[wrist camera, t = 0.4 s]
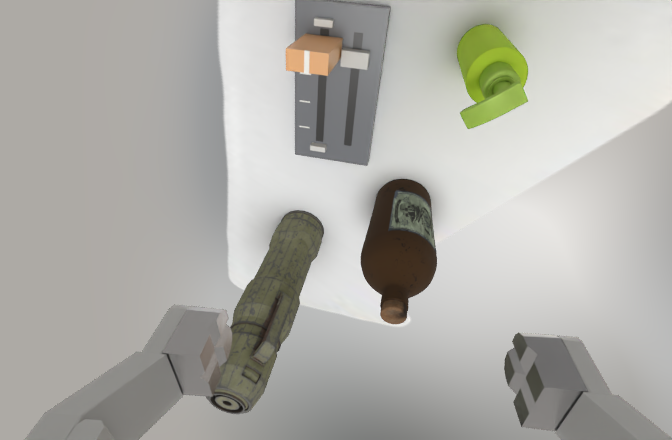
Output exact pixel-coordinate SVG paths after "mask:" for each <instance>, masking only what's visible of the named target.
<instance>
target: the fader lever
mask: <svg viewBox="0 0 672 440" xmlns="http://www.w3.org/2000/svg"><path fill="white" fill-rule="evenodd" d="M342 41H343V38H338V37H330V36H322V35H313V34H304V35H303V36H302V37H300V38H299V39H298V40H296V41H295V42H294V43H292V44H291V45H290V46H288V47H287V48H286V70H287V71H295V72H303V73H304V74H309V73H310V74H318V75H325V76H328V75H329V73H330V72H331V71H332V69H333V68H334V67H335V65H336V64H337V63H338V61H339V60H340V58H341V52H342Z"/></svg>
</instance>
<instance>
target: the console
mask: <svg viewBox="0 0 672 440" xmlns="http://www.w3.org/2000/svg"><path fill="white" fill-rule="evenodd" d="M389 14H390V7H386V6H377V5H368V4H359V3H349V2H340V1H331V0H295V41H296V40H298V39H299V38H300V37H302V36H303V35H304V34H313V35H322V36H330V37H338V38H343V41H342V52H341V58H340V60H339V61H338V63H337V64H336V65H335V67H334V68H333V69H332V71H331V72H330V73H329V75H328V76H325V75H318V74H310V73H309V74H304V73H303V72H295V154H296V155H302V156H309V157H315V158H321V159H328V160H334V161H340V162H347V163H353V164H359V165H366V166H367V165H368V161H369V156H370V148H371V141H372V134H373V127H374V120H375V113H376V106H377V99H378V92H379V85H380V78H381V71H382V64H383V57H384V50H385V43H386V35H387V28H388V21H389Z"/></svg>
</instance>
